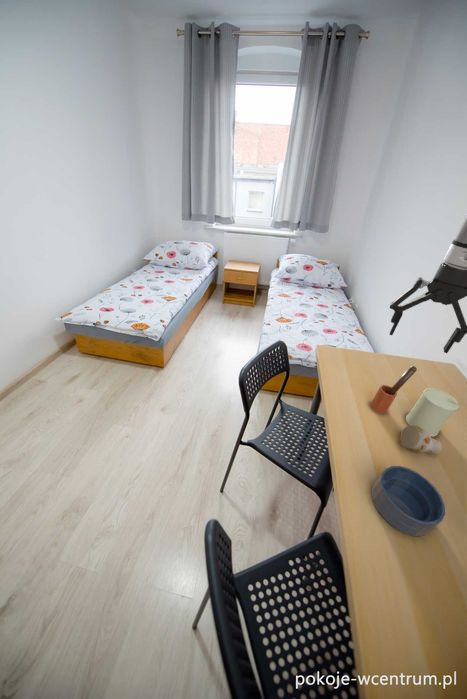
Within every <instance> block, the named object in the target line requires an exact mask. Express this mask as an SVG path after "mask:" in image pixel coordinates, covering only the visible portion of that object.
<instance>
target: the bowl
mask: <svg viewBox="0 0 467 699" xmlns="http://www.w3.org/2000/svg"><path fill="white" fill-rule="evenodd" d="M371 496H372V501H373V504H374V506H375V508H376V509H377V511H378V513H379V514H380V515H381V516H382V518H383V519H384V520H385V521H386V522H387V523H388V524H389V525H390V526H392V527H393V528H394V529H396V530H398V531H400V532H401V533H403V534H405V535H409V536H412V537H423V536H425V535H427V534H428V533H430V532H431V531H432V530H433V529H435V528H436V527H437V526H438V525H439V524H440V523H442V521H443V520H444V518H445V516H446V504H445V502H444V500H443V498H442V495H441V494H440V492H439V491H438V489H437V488H436V487H435V486H434V484H432V483H431V482H430V481H429V479H427V478H426V477H424V476H423V475H422V474H420V472H417V471H415V470H413V469H411V468H409V467H405V466H401V465H390V466H389V467H386V468H384V470H383V471H382V472H381V473H380V475H379V476H378V478H377V479H376V481H375V482H374V483H373V485H372V489H371Z"/></svg>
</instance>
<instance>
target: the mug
mask: <svg viewBox="0 0 467 699" xmlns="http://www.w3.org/2000/svg"><path fill="white" fill-rule="evenodd" d="M400 444H401V446H402V447H404V448H405V449H406V450H408V451H409V452H413V453H425V452H426V453H430V454H432V455H436V454H439V453H440V452H441V451H442V445H441V442H440V441H439V440H437V439H435V438H433V437H432V436H429V435H428V434H427V432H426V431H424V430H423V429H422V428H420V427H418V426H413V425H407V426H405V427H404V428H403V429H402V431H401V433H400Z"/></svg>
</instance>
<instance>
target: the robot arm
mask: <svg viewBox="0 0 467 699" xmlns="http://www.w3.org/2000/svg"><path fill="white" fill-rule="evenodd" d="M442 260H443V262H442V263H440V265H439V267H438V269H437V270H436V272H435V274H434V276H433V278H432V279H431V280H430V281H428V280H425V279H423V277H420V276H419V277H418V278H417V279H416V280H415V282H414V284H413V285H411V287H409V288H407V289H406V290H405V291H404V292H403V293H402V294H400V295H399V296H398V297H397V298H395V299H394V300H393V301H392V302H391V303H390V305H389V309H390V310H392V311H394V313H393V315H392V317H391V319H390V323H392V324H393V325H392V326H391V329H390V331H389V336H393V335H394V333H395V332H396V328H397V327H398V325H399V323H400V321H401V318H402V317H403V314H404V312H405V311H407V310H409V309H411V308H413V307H415V306H418V305H420V304H422V303H424V302H427V301H429V300H430V301H432V303H439V304H442V305H444V306H448V305H451V306H452V308H453V311H454V313H455V316H456V319H457V322H458V324H459V327H458V326H457V327H455V329H454V331H453V332H452V334H451V335H450V337H449V339H448V340H447V341H446V343H445V345H444V346H443V353H445V354H448V353H449V351H450V350H451V349H452V347H453V345H454V344H455V343H457V344H460V343H461V341H462V340H463V338H464V337H465V335H467V322H466V320H465V319H466V318H465V317H464V314H463V311H462V309H461V308H462V307H461V305H460V303H459V301H460V300H462V299H464V298H466V297H467V214H465V217H464V218H463V220H462V223H461V224H460V226H459V228H458V230H457V232H456V235H455V236H454V239H453V240H452V242H451V244H450V246H449V248H448V249H447V252H446V254H445V255H444V257H443V259H442ZM424 287H426V288H427V291H426V292H424V293H422V294H421V295H418V296H416V297H415V298H412V299H410V300H409V301H406V300H407V299H409V297H411V296H412V295H413V294H415V293H416V292H417V291H418V290H419V289H423V288H424ZM405 301H406V302H405Z"/></svg>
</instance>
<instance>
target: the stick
mask: <svg viewBox="0 0 467 699" xmlns="http://www.w3.org/2000/svg"><path fill="white" fill-rule="evenodd" d="M417 370H418V369H417V367H416V366H415V365H412V366H409V368H408V369H406V371H405V372H404V373H403V374H402V375H401V376H400V377H399V379H398V380H397V381H396V382H395V383H394V384H393V385H392V386H391V387H392V388H391V389H390V390H389V391H388V392H387V394H389V395H394V394H395V393H396V392H397V393H398V391H399V390H400V389H401V388H402V387H403V386H404V385H405V384H406V383H407V382H408V380H409V379H410V378H411V377H412V376H413V375H414V374H415V373H416V372H417Z"/></svg>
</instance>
